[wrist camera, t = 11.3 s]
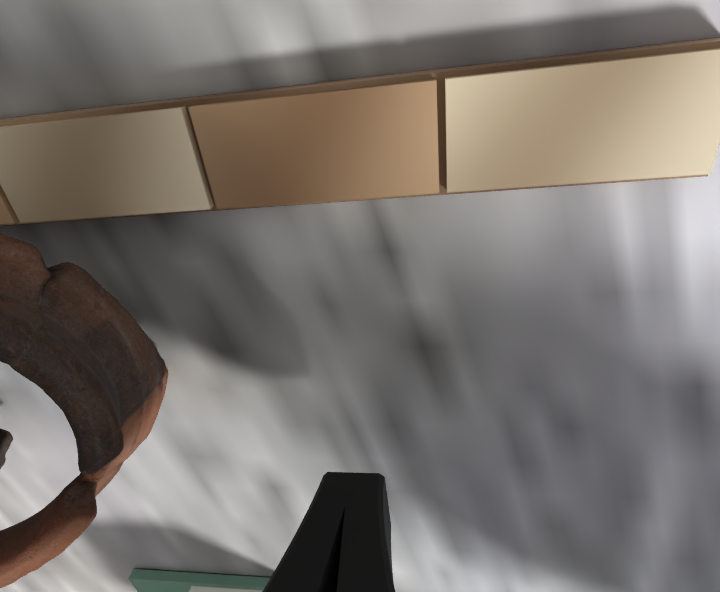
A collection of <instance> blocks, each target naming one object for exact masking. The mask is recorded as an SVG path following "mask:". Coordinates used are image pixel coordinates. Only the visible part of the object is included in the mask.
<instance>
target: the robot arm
mask: <svg viewBox="0 0 720 592" xmlns="http://www.w3.org/2000/svg"><path fill="white" fill-rule="evenodd" d="M262 592H395V589H394V584H393V574H392V559H391V521H390V514H389V506H388V499H387V491H386V484H385V477H384V476H382V475H381V474H379V473H342V472H327V473H326V474H325V475H324V476H323V478H322V481H321V483H320V485H319V488H318V490H317V492H316V494H315V496H314V498H313V501H312V503H311V505H310V507H309V509H308V511H307V513H306V515H305V517H304V519H303V521H302V523H301V525H300V527H299V528H298V530H297V532H296V534H295V536H294V538H293V540H292V541H291V543H290V545H289V547H288V549H287V550H286V552H285V554H284V556H283V558H282V559H281V561H280V563H279V565H278V566H277V568H276V570H275V572H274V573H273V575H272V577H271V578H270V580H269V581H268V583H267V585H266V586H265V588H264V590H263V591H262Z"/></svg>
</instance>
